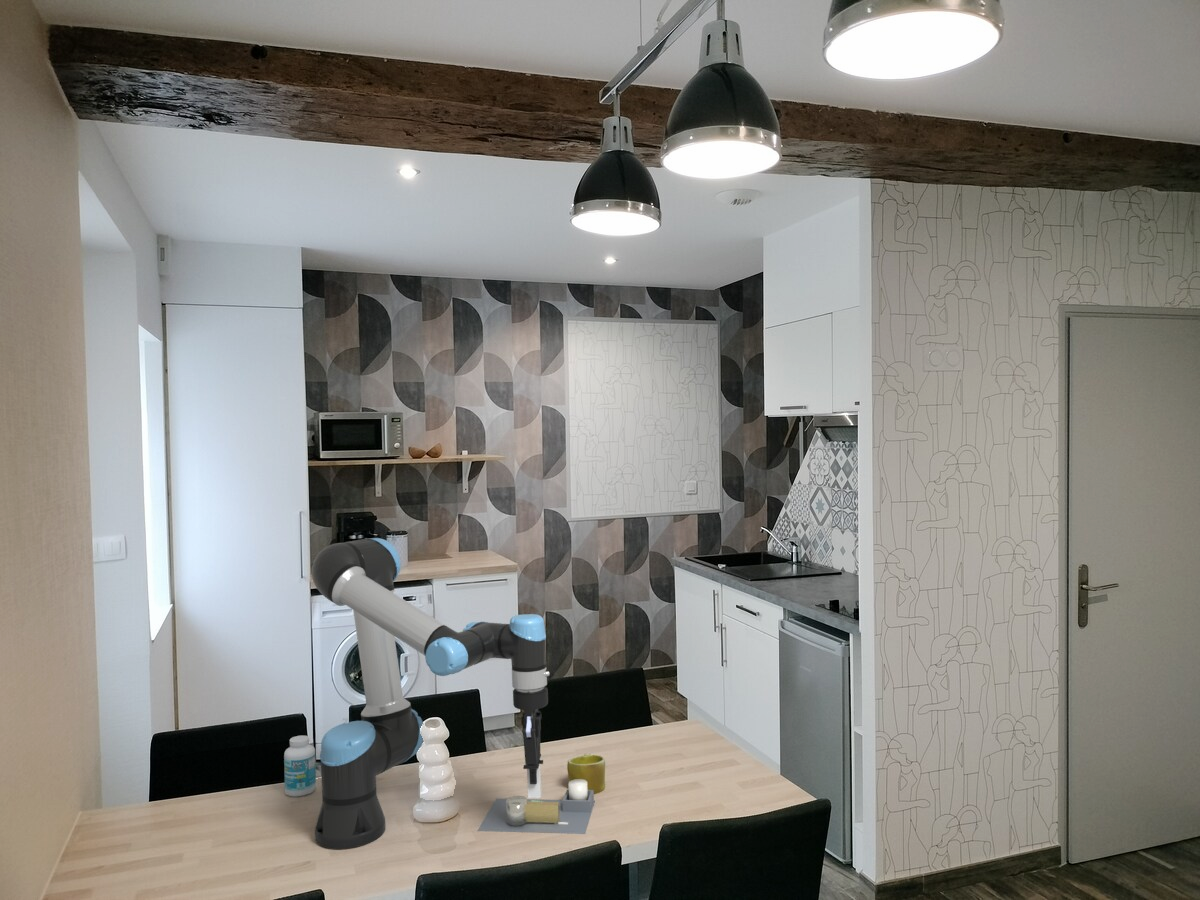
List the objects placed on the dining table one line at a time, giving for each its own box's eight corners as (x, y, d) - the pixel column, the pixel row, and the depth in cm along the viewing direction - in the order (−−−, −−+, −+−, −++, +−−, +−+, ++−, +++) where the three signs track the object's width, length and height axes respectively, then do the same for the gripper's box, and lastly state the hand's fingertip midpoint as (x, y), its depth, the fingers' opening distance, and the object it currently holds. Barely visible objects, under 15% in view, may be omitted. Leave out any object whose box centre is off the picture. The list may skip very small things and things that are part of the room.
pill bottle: (278, 797, 208) (277, 743, 208) (294, 785, 215) (293, 732, 215) (306, 798, 206) (305, 744, 206) (321, 786, 214) (320, 733, 214)
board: (477, 836, 183) (476, 819, 183) (496, 803, 200) (495, 788, 200) (585, 839, 181) (584, 822, 181) (595, 805, 197) (594, 790, 197)
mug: (607, 795, 199) (595, 752, 201) (568, 806, 201) (557, 763, 203) (620, 785, 210) (608, 745, 213) (582, 795, 212) (572, 755, 215)
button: (567, 805, 193) (567, 786, 193) (570, 797, 197) (570, 778, 197) (586, 806, 192) (585, 786, 192) (589, 798, 197) (588, 779, 197)
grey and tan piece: (504, 825, 185) (504, 804, 185) (509, 816, 189) (509, 795, 189) (557, 827, 184) (556, 805, 183) (560, 817, 188) (560, 796, 188)
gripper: (544, 695, 174) (549, 809, 173) (550, 678, 187) (554, 784, 186) (508, 696, 174) (513, 810, 174) (516, 679, 187) (521, 785, 187)
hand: (534, 796), depth 180 cm, fingers closed
